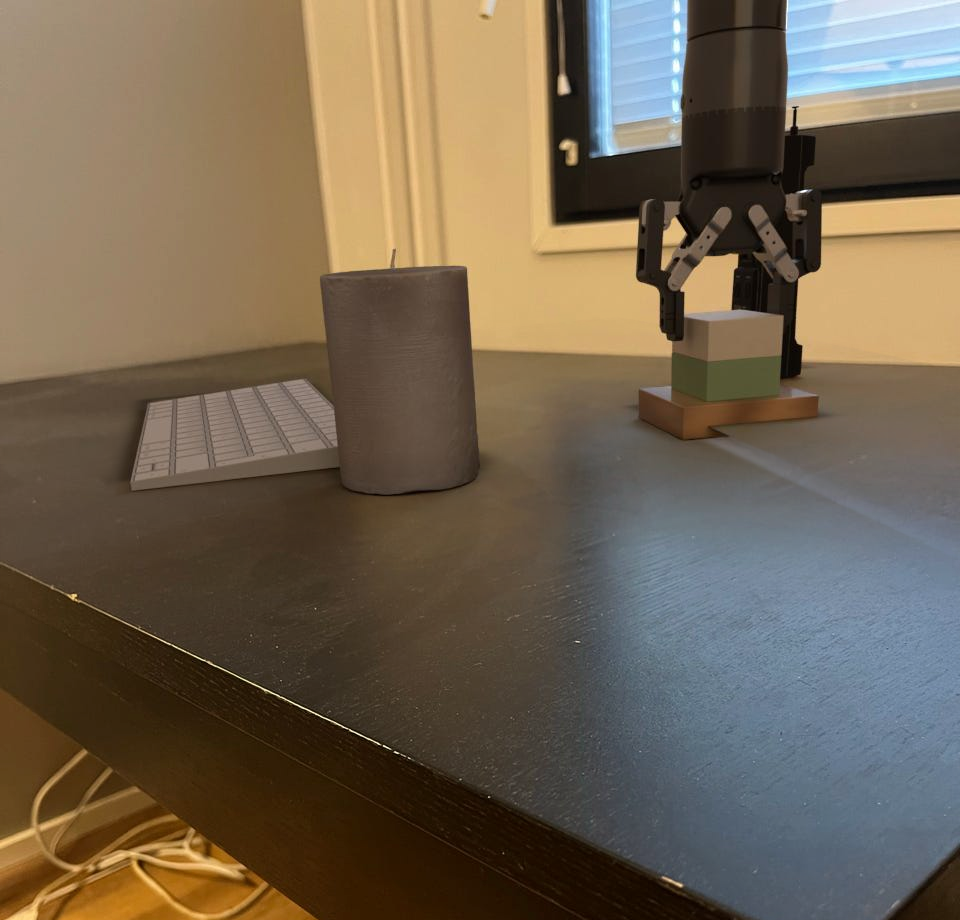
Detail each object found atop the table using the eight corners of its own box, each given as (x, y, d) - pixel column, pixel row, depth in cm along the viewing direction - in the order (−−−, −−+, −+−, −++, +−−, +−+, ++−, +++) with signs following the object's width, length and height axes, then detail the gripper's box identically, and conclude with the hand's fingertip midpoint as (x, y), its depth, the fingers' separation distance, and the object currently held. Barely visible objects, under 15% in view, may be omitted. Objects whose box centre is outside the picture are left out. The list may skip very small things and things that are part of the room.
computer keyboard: (149, 408, 109) (146, 392, 108) (317, 392, 113) (315, 377, 112) (114, 492, 70) (110, 469, 70) (372, 464, 74) (370, 442, 74)
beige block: (739, 346, 83) (741, 309, 82) (781, 356, 76) (784, 315, 75) (671, 352, 82) (672, 314, 81) (707, 362, 75) (708, 321, 74)
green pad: (737, 382, 84) (739, 346, 83) (779, 395, 77) (781, 356, 76) (671, 388, 84) (671, 352, 82) (706, 402, 76) (707, 362, 75)
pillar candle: (401, 459, 75) (383, 248, 69) (507, 470, 70) (496, 242, 64) (311, 488, 68) (282, 255, 62) (421, 502, 62) (401, 248, 57)
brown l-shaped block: (757, 407, 87) (759, 378, 86) (817, 427, 77) (819, 395, 76) (638, 417, 86) (638, 388, 85) (682, 440, 76) (683, 407, 75)
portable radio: (720, 372, 109) (728, 118, 99) (773, 368, 109) (786, 114, 100) (745, 381, 101) (757, 108, 92) (802, 377, 102) (819, 104, 92)
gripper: (657, 106, 68) (655, 348, 74) (849, 97, 70) (832, 333, 76) (625, 119, 75) (626, 339, 81) (800, 110, 77) (788, 326, 83)
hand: (726, 336), depth 79 cm, fingers open, 8 cm apart
